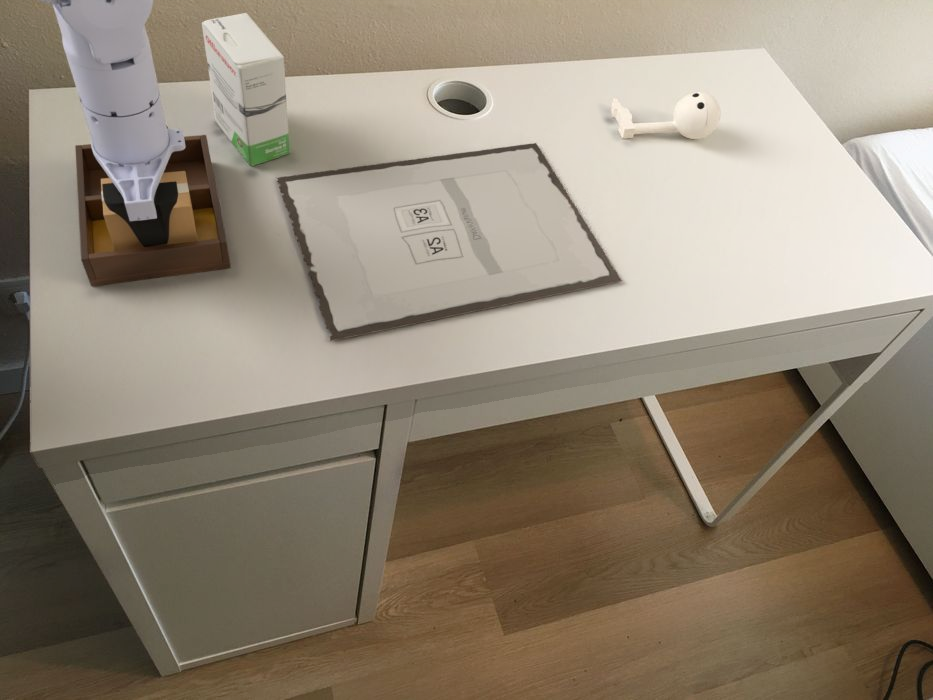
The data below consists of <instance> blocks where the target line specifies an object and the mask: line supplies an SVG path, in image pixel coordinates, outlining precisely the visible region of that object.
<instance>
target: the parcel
mask: <svg viewBox="0 0 933 700" xmlns="http://www.w3.org/2000/svg"><path fill="white" fill-rule="evenodd" d="M174 181H176V182H177V189H178V199H177V203H176V204H175V206H174V207H173V209H172V211H171V214H170V219H169V239H168V243H167V244H165V245H168V244H176V243H185V242H193V241H198V238H197V232H196V226H195V220H194V214H193V209H192V204H191V198H190V193H189V188H188V183H187V178H186V173H185V171H179V172H168V173H163V175H162V177H161V180H160V182H159V183H163V182H174ZM107 183H113V182H112V181H111V179H110V178H104V179H101V189H102V184H107ZM101 195H102V202H103V215H104V218H105V222H106V225H107V228H108V231H109V234H110V237H111V240H112V243H113V246H114V249H115V251H118V250H126V249H135V248H143V247H144V246H143V245H142V244H141V243H140V241H139V240H138V238H137V237H136V235H135V234H134V232H133V231H132V229H131V228H130V226H129V225H128V224H127V223H126V221H125V220H124V219H122V218H121V217H120V216H119V215H117V214H116V213H114V212H112V211H110V210H109V209H108V207H107V206H106V204H105V202H104V198H103V189H102V191H101ZM157 246H160V245H157ZM148 247H151V246H148Z"/></svg>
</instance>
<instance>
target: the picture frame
mask: <svg viewBox="0 0 933 700" xmlns="http://www.w3.org/2000/svg"><path fill="white" fill-rule="evenodd" d="M276 179H277V181H276V183H277V184H278V185H280V186H279V187H278V188H279V190H280V191H279V192H280V193H281V194H282V196H281V198H282V201H283V202H284V204H285V206H284V207H285V208H286V209H287V211H288V212H289V215H288V217H289V219H290V220H291V221H292V223H291V226H292V227H293V228H292V230H293V233H294V236H295V237H296V238H297V239H296V241H297V242H298V244H299V247H300V250H301V254H302V255H304V257H303V262H305V263H306V264H307V266H308V270H309V271H308V273H307V275H308V276H309V277H311V280H312V285H313V287H314V289H315V291H314V295H315V296H317V297H319V299H318V303H319V307H318V308H319V311H320V312H321V315H322V317H323V319H324V324H325V329H326V330H328V331H331V335H330V336H329V342H333V341H338V340H342V339H348V338H352V337H357V336H362V335H368V334H372V333H377V332H382V331H386V330H391V329H395V328H400V327H406V326H411V325H415V324H420V323H426V322H430V321H434V320H439V319H440V320H441V319H444V318H449V317H454V316H459V315H463V314H468V313H469V314H470V313H472V312H478V311H484V310H488V309H492V308H498V307H503V306H508V305H511V304H517V303H522V302H528V301H531V300H537V299H543V298H546V297H550V296H556V295H560V294H565V293H570V292H574V291H579V290H585V289H590V288H595V287H599V286H605V285H610V284H613V283H618V282H623V280H622V279H621V277H620V275H619V274H618V272H617V270H616V269H615V268H614V267H613V265H612V263H611V262H610V259H609V258H608V256H607V255H606V253H605V251H604V249H603V248H602V246H601V244H600V243H599V242H598V240H597V239H596V237H595V235H594V233H592V231H591V229H590V228H589V226H588V224H587V223H586V221H585V218H583V215H581V214H580V211H579V209H578V208H577V206H576V205H575V203H573V201H572V199H571V197H570V196H569V194H568V193H567V190H566V189H565V188H564V185H563V184H562V182H561V180H560V179H559V177H558V176H557V174H556V172H555V171H554V170H553V168H552V166H551V165H550V163H549V161H548V160H547V158H546V155H544V154H543V152H542V150H541V148H540V146H539V145H538V144H537V142H535V143H534V142H533V143H526V144H517V145H511V146H501V147H497V148H488V149H487V148H486V149H481V150H475V151H466V152H457V153H451V154H443V155H436V156H430V157H429V156H428V157H422V158H421V157H419V158H415V159H413V158H412V159H407V160H398V161H390V162H383V163H377V164H369V165H359V166H353V167H345V168H338V169H332V170H324V171H323V170H322V171H316V172H308V173H302V174H301V173H300V174H293V175H287V176H286V175H285V176H280V177H276Z"/></svg>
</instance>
